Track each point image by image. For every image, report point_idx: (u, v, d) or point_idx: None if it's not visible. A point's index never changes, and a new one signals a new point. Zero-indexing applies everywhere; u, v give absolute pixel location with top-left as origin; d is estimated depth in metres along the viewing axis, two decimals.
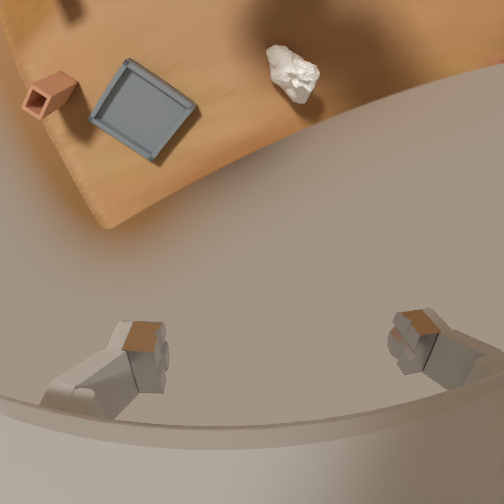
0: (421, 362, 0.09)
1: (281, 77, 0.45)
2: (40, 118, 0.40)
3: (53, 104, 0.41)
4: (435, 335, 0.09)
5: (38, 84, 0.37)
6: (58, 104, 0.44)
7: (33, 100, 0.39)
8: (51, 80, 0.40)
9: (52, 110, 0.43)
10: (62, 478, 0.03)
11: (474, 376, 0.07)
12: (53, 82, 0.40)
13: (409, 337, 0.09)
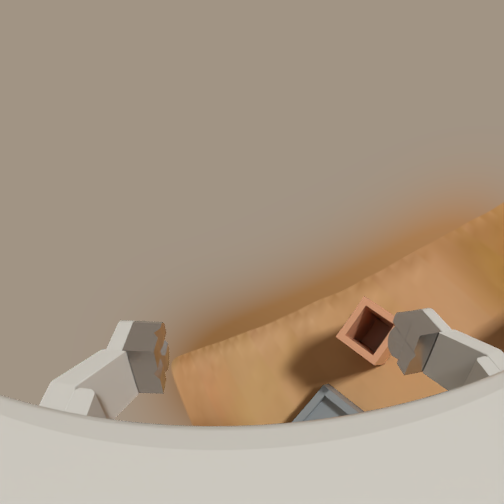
0: (421, 362, 0.09)
1: None
2: (339, 337, 0.30)
3: None
4: (435, 335, 0.09)
5: None
6: None
7: (371, 311, 0.31)
8: None
9: None
10: (62, 478, 0.03)
11: (474, 376, 0.07)
12: None
13: (409, 337, 0.09)
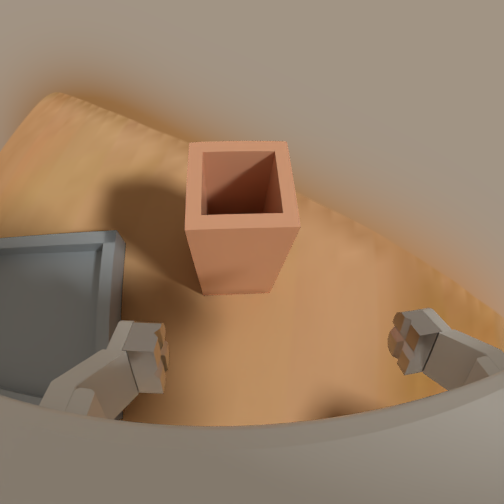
0: (421, 362, 0.09)
1: None
2: (192, 147, 0.15)
3: None
4: (435, 335, 0.09)
5: (279, 239, 0.15)
6: None
7: (269, 186, 0.17)
8: (257, 268, 0.18)
9: None
10: (62, 478, 0.03)
11: (474, 376, 0.07)
12: (246, 267, 0.18)
13: (409, 337, 0.09)
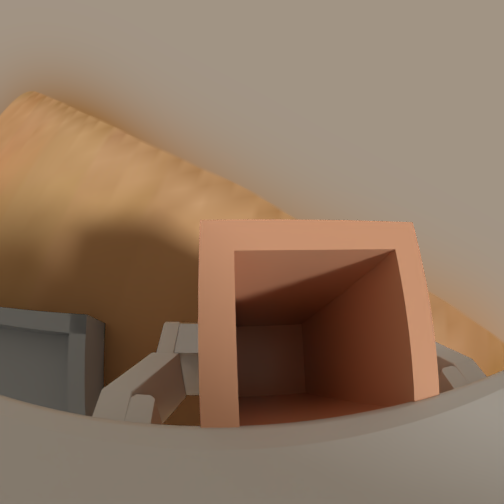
0: None
1: None
2: (208, 235, 0.06)
3: None
4: None
5: None
6: None
7: (355, 294, 0.09)
8: None
9: None
10: (62, 478, 0.03)
11: (439, 387, 0.07)
12: None
13: None
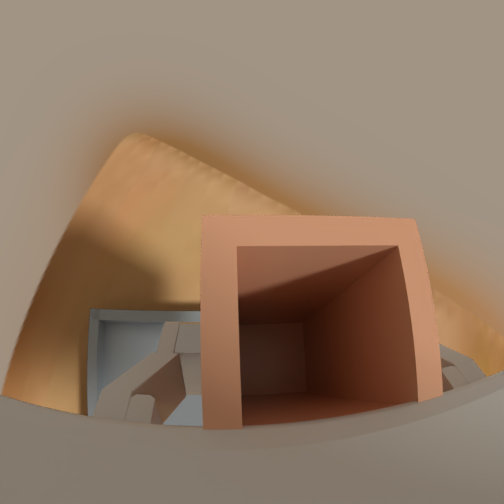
0: None
1: None
2: (211, 231, 0.06)
3: None
4: None
5: None
6: None
7: (357, 291, 0.09)
8: None
9: None
10: (62, 478, 0.03)
11: None
12: None
13: None
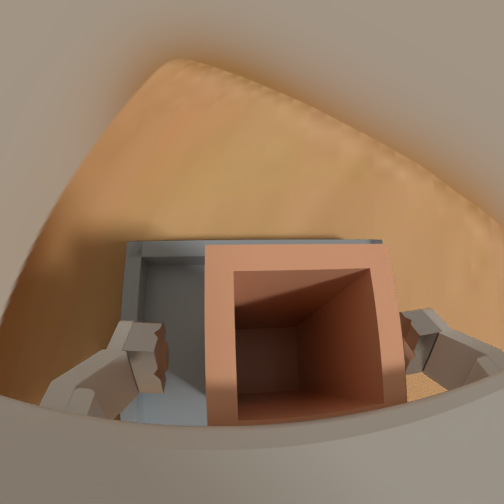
0: (421, 362, 0.09)
1: None
2: (212, 258, 0.08)
3: None
4: (435, 335, 0.09)
5: None
6: None
7: (339, 303, 0.10)
8: None
9: None
10: (62, 478, 0.03)
11: (474, 376, 0.07)
12: None
13: (409, 337, 0.09)
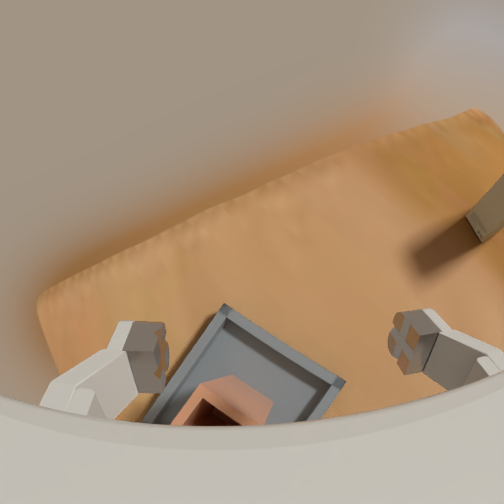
0: (421, 362, 0.09)
1: None
2: None
3: None
4: (435, 335, 0.09)
5: None
6: None
7: None
8: None
9: None
10: (62, 478, 0.03)
11: (474, 376, 0.07)
12: None
13: (409, 337, 0.09)
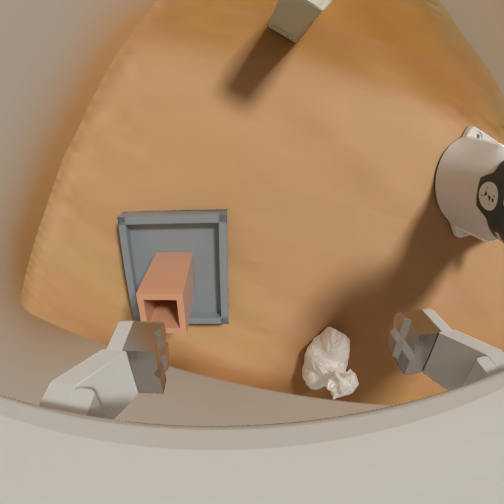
0: (421, 362, 0.09)
1: (321, 364, 0.45)
2: None
3: None
4: (435, 335, 0.09)
5: (183, 292, 0.33)
6: None
7: None
8: (188, 282, 0.36)
9: None
10: (62, 478, 0.03)
11: (474, 376, 0.07)
12: (189, 288, 0.36)
13: (409, 337, 0.09)
